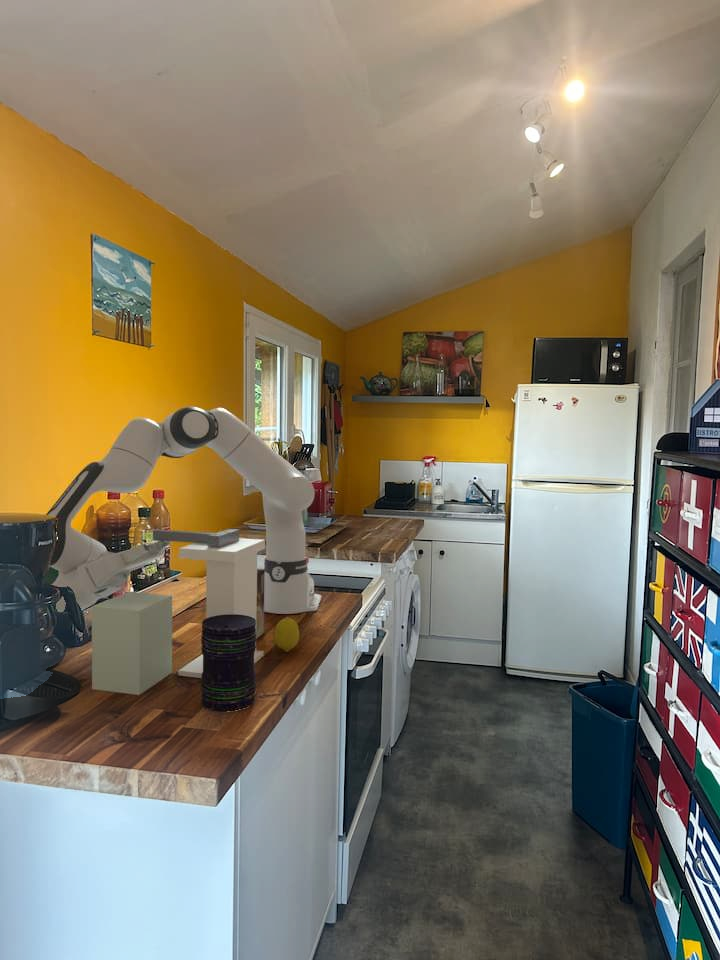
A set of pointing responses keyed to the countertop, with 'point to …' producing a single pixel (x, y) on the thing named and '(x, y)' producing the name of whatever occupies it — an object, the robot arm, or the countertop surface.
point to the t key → (199, 537)
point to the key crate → (131, 642)
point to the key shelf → (227, 584)
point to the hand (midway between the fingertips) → (157, 543)
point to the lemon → (287, 634)
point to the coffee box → (260, 603)
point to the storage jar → (228, 662)
